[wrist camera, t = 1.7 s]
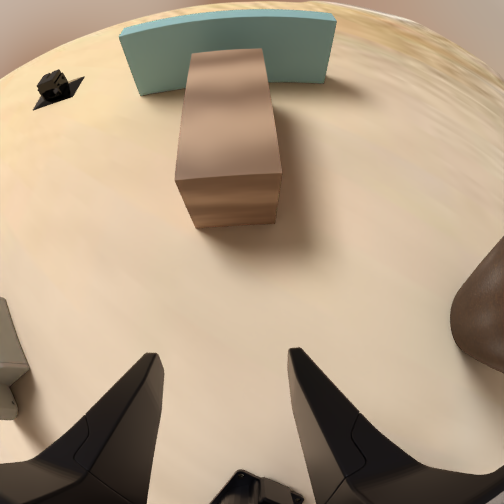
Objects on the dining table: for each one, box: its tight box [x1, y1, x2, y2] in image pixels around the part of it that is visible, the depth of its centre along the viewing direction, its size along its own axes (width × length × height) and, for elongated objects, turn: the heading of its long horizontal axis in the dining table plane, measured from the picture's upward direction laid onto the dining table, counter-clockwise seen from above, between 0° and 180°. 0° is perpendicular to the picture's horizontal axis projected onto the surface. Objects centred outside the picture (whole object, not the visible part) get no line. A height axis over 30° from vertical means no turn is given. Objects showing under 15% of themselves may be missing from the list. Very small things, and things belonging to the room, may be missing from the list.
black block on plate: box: [33, 69, 85, 110], centre depth 33 cm, size 12×7×5 cm, turn 91°
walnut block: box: [175, 48, 282, 228], centre depth 25 cm, size 16×7×8 cm, turn 3°
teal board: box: [119, 9, 337, 96], centre depth 29 cm, size 8×24×10 cm, turn 93°
